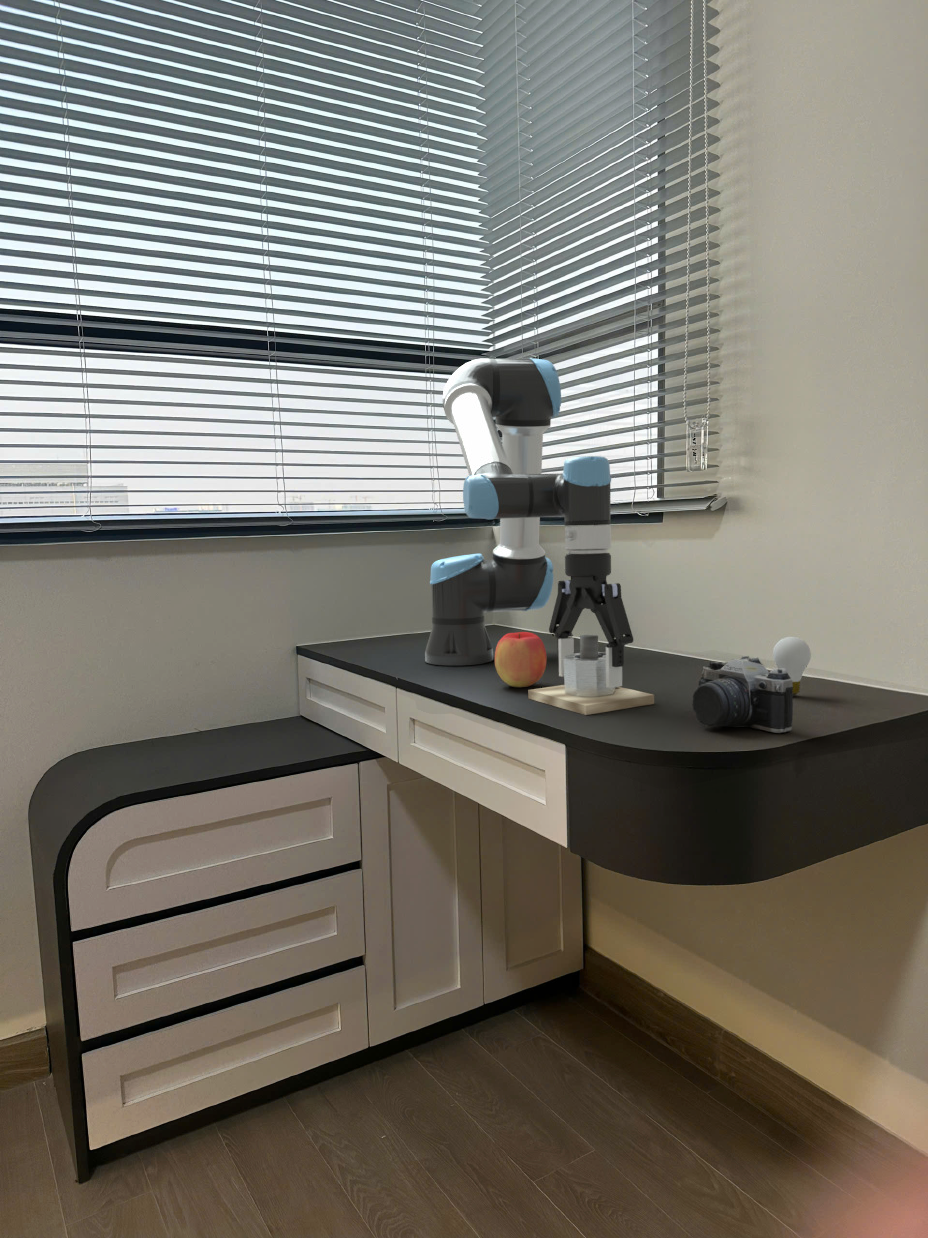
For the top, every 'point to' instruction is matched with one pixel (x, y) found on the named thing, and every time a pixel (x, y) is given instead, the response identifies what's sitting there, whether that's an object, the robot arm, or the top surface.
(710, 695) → the camera
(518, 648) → the apple
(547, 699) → the shaft stand
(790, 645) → the light bulb
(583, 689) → the hub
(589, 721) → the top surface
